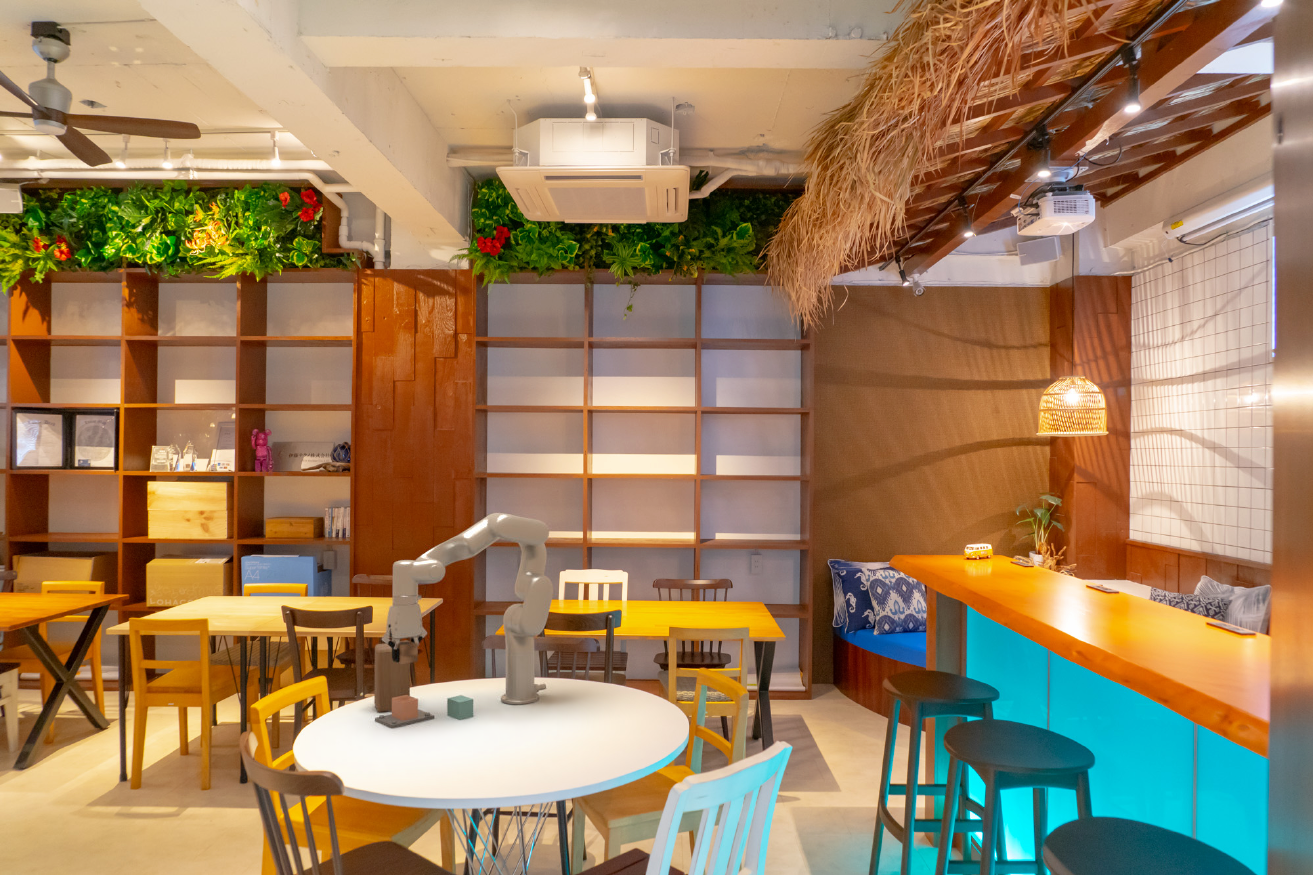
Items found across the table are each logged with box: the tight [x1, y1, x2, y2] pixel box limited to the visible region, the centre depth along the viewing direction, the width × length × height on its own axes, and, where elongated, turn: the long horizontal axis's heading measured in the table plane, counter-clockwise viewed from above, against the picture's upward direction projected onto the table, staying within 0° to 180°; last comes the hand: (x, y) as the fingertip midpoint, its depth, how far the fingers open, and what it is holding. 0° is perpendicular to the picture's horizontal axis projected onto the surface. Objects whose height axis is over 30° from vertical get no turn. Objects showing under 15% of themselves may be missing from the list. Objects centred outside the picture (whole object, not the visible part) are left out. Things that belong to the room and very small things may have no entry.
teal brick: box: [446, 694, 474, 721], centre depth 258 cm, size 5×7×6 cm
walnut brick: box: [392, 639, 419, 664], centre depth 255 cm, size 5×7×6 cm
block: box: [373, 642, 411, 713], centre depth 269 cm, size 10×10×20 cm
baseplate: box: [374, 695, 435, 729], centre depth 254 cm, size 14×11×6 cm
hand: (404, 659), depth 255 cm, fingers closed on walnut brick, 4 cm apart
